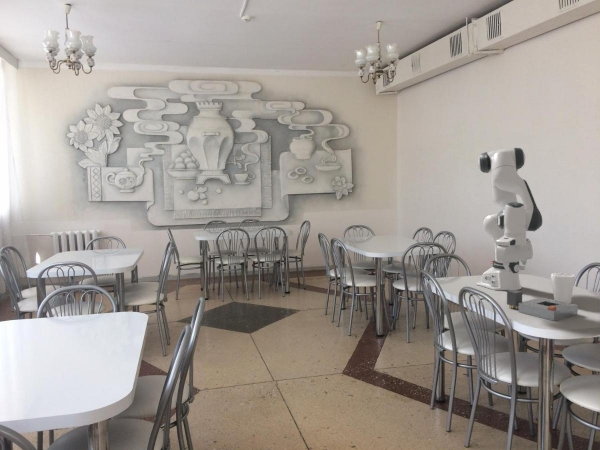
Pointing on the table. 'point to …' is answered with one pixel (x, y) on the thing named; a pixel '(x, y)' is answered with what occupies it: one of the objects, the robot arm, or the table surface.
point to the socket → (548, 308)
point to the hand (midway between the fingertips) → (514, 271)
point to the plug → (514, 298)
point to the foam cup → (562, 286)
